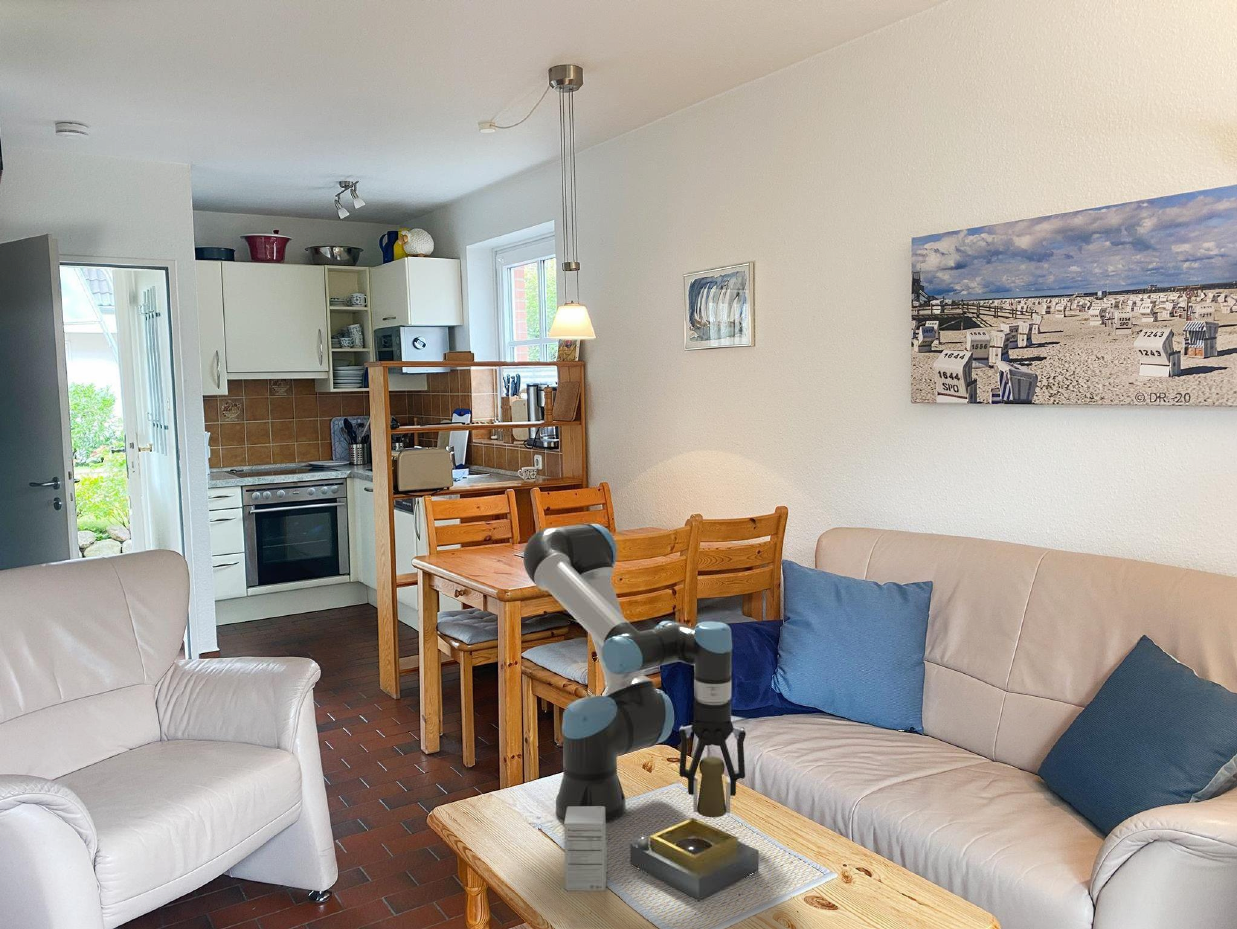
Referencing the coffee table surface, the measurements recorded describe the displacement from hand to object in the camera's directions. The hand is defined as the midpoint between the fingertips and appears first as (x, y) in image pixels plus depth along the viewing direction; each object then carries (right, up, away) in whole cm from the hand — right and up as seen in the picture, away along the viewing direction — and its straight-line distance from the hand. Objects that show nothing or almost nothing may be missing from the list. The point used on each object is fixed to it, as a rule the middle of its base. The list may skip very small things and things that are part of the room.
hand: (711, 809), depth 188 cm
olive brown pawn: (0, 0, 0) cm, 1 cm away
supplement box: (-25, -6, -20) cm, 32 cm away
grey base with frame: (-5, -5, -15) cm, 17 cm away
